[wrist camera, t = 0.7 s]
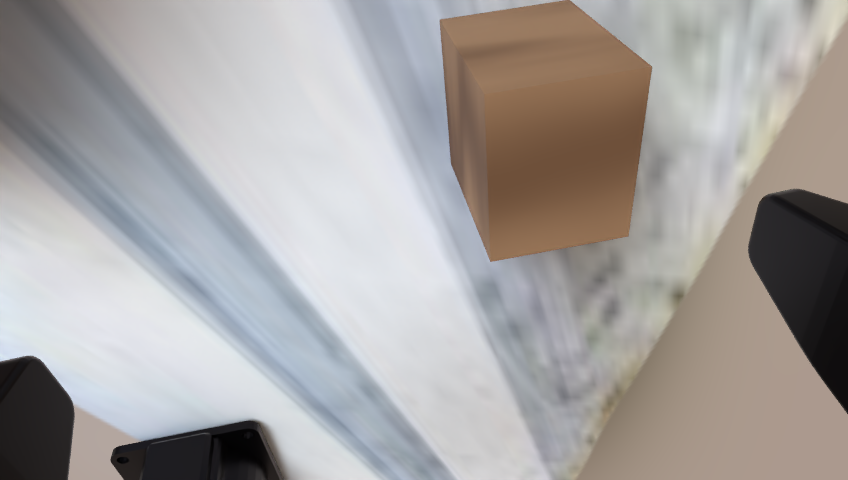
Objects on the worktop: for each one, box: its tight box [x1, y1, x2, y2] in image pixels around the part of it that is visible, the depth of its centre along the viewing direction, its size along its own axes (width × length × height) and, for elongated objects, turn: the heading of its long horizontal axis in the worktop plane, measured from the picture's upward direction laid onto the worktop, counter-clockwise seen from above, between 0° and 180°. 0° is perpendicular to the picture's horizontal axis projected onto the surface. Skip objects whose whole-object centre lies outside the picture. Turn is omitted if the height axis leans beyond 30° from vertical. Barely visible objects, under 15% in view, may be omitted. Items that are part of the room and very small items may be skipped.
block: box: [440, 0, 652, 262], centre depth 18 cm, size 5×4×6 cm
